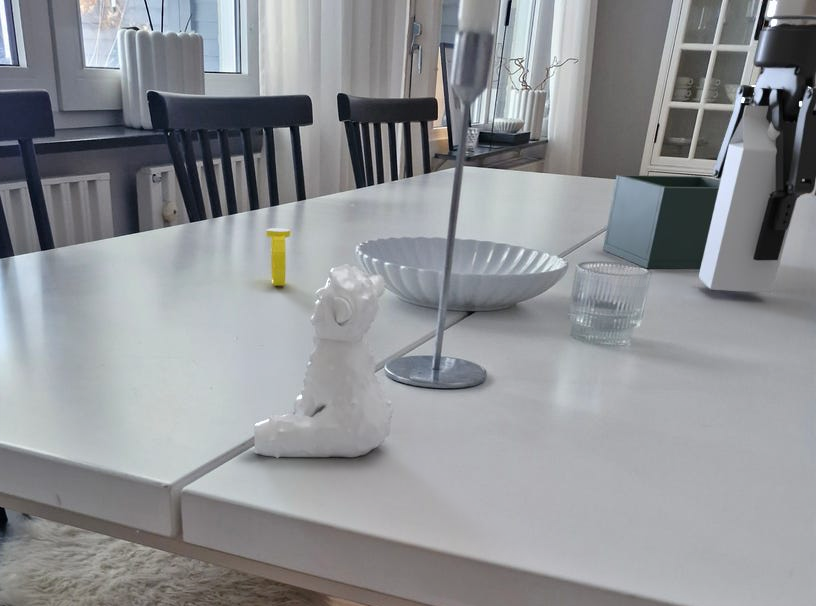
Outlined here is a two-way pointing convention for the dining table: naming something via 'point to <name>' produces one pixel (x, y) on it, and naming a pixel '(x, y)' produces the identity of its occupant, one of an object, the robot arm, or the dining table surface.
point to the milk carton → (743, 209)
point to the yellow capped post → (278, 254)
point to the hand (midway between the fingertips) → (742, 252)
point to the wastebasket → (661, 220)
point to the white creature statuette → (335, 379)
